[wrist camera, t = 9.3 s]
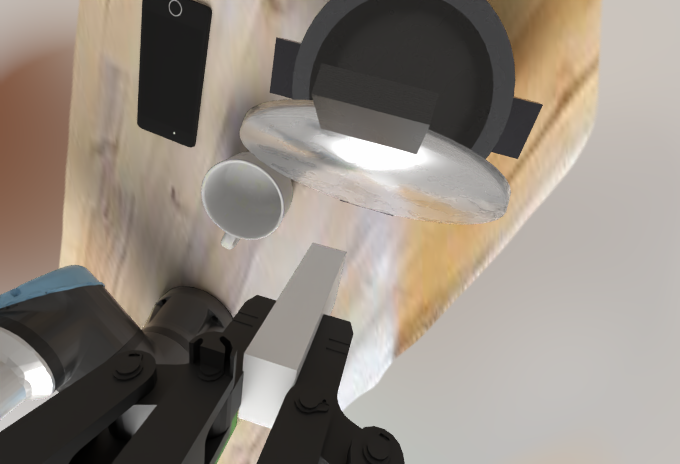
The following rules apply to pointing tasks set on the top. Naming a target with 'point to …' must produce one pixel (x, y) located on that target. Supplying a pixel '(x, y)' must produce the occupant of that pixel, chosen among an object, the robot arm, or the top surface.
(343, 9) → the cooker
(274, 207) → the teacup
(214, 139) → the top surface
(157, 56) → the cell phone
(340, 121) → the lid
